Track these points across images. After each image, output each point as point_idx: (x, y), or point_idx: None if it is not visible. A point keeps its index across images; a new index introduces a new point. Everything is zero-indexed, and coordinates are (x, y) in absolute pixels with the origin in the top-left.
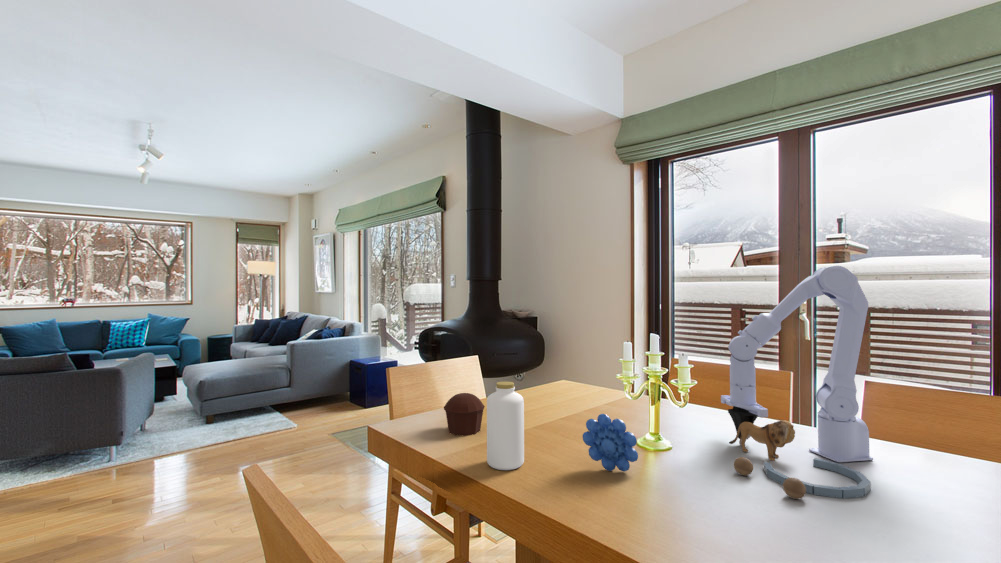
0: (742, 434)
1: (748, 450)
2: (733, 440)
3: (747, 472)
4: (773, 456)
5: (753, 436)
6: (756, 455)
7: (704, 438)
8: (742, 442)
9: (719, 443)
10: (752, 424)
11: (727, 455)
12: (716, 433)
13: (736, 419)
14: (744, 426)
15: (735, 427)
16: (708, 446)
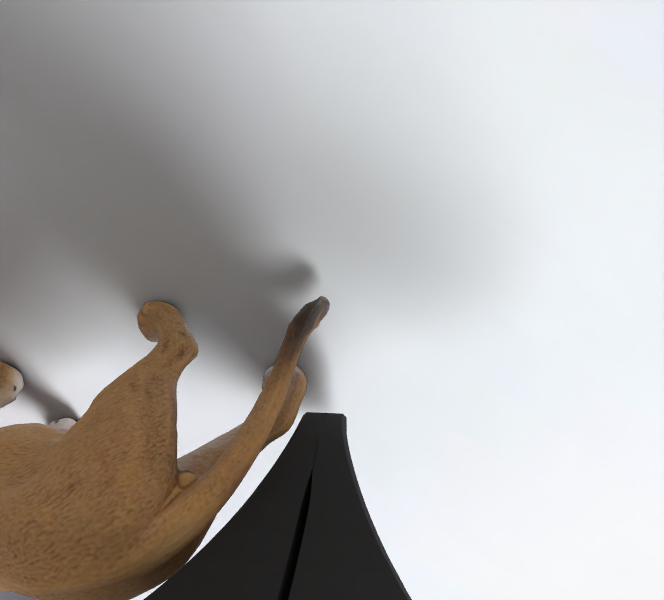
0: (116, 398)
1: (146, 337)
2: (292, 338)
3: None
4: (60, 419)
5: (9, 437)
6: (90, 339)
7: (584, 185)
8: (164, 349)
9: (398, 241)
10: (4, 579)
11: (62, 94)
12: (659, 391)
13: (274, 569)
14: (50, 490)
15: (350, 479)
16: (333, 57)
